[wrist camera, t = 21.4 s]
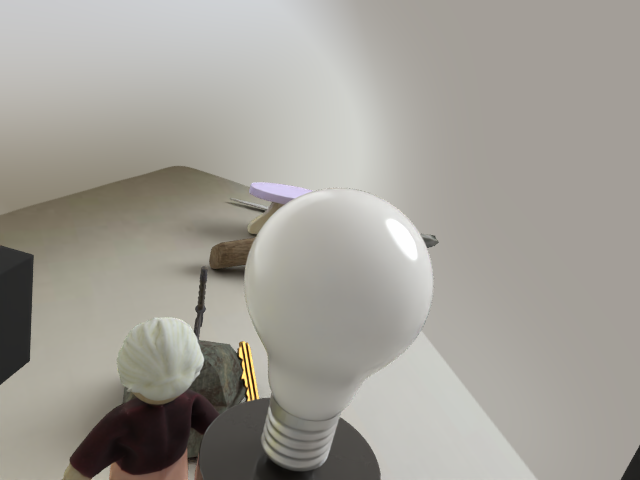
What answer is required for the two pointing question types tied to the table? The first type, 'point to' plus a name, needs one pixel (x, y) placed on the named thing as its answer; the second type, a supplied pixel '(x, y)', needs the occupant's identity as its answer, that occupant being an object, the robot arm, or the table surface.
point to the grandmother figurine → (149, 408)
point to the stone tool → (239, 250)
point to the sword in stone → (212, 373)
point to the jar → (257, 468)
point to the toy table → (272, 200)
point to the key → (247, 371)
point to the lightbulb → (331, 310)
